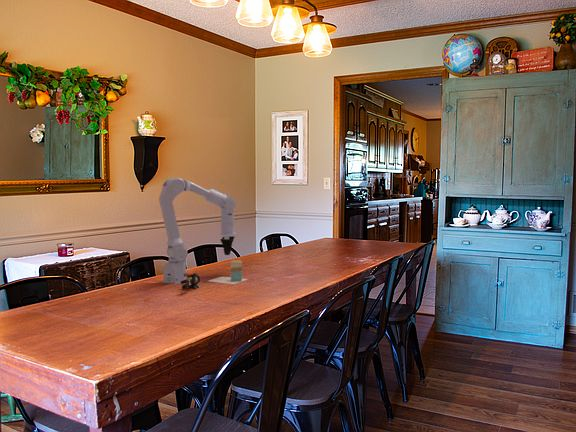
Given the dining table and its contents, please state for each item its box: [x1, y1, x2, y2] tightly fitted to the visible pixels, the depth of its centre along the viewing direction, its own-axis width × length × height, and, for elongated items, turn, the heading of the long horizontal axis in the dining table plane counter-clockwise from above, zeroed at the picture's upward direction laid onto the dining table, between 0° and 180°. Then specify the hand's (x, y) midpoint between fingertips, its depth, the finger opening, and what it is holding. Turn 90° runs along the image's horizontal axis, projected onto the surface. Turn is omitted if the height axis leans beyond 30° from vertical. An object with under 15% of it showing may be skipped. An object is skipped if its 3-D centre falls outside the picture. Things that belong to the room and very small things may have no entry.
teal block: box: [230, 271, 243, 282], centre depth 213 cm, size 4×4×4 cm
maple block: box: [230, 260, 243, 273], centre depth 213 cm, size 4×4×4 cm
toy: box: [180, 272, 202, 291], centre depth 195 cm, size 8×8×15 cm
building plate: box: [208, 276, 248, 285], centre depth 213 cm, size 11×14×1 cm
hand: (227, 253), depth 223 cm, fingers open, 7 cm apart
